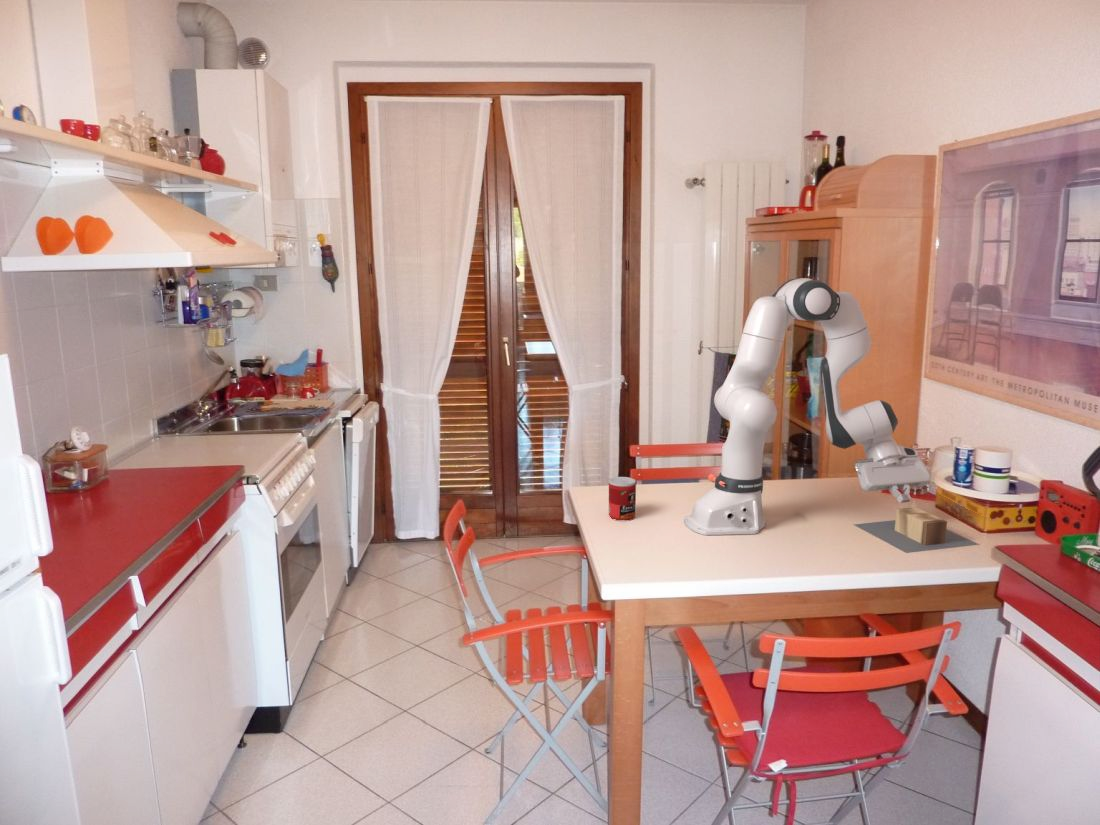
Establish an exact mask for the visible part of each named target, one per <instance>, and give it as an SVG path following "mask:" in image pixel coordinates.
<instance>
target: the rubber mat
mask: <svg viewBox="0 0 1100 825" xmlns="http://www.w3.org/2000/svg"><path fill="white" fill-rule="evenodd" d="M852 525H853V526H855V527H857V528H859V529H861V530H862V531H865V532H867V533H868V534H870V535H872V536H873V537H875V538H878V539H879V540H881V541H883V542H885V543H887V544H889V545H890V546H892V547H894V548H896V549H898V550H900V551H902V552H904V553H906V554H909V553H910V554H911V553H918V552H926V551H935V550H944V549H945V550H946V549H952V548H954V549H955V548H963V547H969V546H977V545H979V546H980V543H977V542H975V541H973V540H971V539H968V538H967V537H964V536H962V535H960V534H958V533H955V532H953V531H952V530H949V529H947V528H946V538H945V543H944V544H935V545H926V546H925V545H923V544H921V543H919V542H917V541H915V540H913V539H911V538H909V537H907V536H905V535H903V534H901V533H899V532H897V531H895V519H893V520H886V521H884V520H883V521H874V522H865V523H856V524H852Z"/></svg>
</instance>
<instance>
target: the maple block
mask: <svg viewBox="0 0 1100 825" xmlns="http://www.w3.org/2000/svg"><path fill="white" fill-rule="evenodd" d="M894 520H895V531H897V532H899V533H901V534H903V535H905V536H907V537H909V538H911V539H913V540H915V541H917V542H919V543H921V544H923V545H925V546H926V545H935V544H944V543H945V538H946V529H947V528H948V527H947V525H948V521H947V520H945V519H942V518H941V517H939V516H936V515H934V514H931V513H929V512H928V511H925V510H922V509H920V508H919V507H916V506H913V507H906V508H905V507H902V508H896V509H895V519H894Z"/></svg>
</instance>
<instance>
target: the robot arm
mask: <svg viewBox="0 0 1100 825" xmlns="http://www.w3.org/2000/svg"><path fill="white" fill-rule="evenodd" d="M794 320H798V321H809V322H819V324H820V325H821V327H822V329H823V332H824V333H823V334H824V337H825V340H826V345H827V346H826V353H825V356H824V357H823V358H822V359H821V360H820V380H821V388H822V397H823V398H822V399H823V404H824V415H825V434H826V436H827V439H828V440H829V442H830V444H831V445H832V446H835V447H837V448H839V449H844V450H846V449H848V448H851V447H853V446H856V444H861V445H862V446H863V450H864V452H863V453H864V455H865V457H866V459H865V458H864V459H857V460H856V461H855V462H854V468H855V469H854V470H855V471H856V472H857V477H858V481H859V484H860V486H861V487H860V488H861V489H862V490H863V491H865V492H866V493H868V492H876V491H887V490H888V491H889V493H890V494H891V495H892V496H893V497H894V498H896V500H897V502H898V503H900V504H901V503H910V501H911V500H912V497H911V495H910V492H911V491H910V490H911V489H912V488H920V487H925V486H927V484H929V483H930V482H931V479H932V477H931V474H930V472H929V470H928V468H927V466H926V464H925V463H924V462H923V460H922V459H921V458H919V457H918V456H919V452H918V450H917V449H915V448H911V447H906V446H902V445H899V444H898V443H897V441H896V440H895V439H894V438H893V436H892V434H894V432H895V430H896V428H897V426H898V424H899V421H898V418H897V416H896V414H895V411H894V409H893V408H892V405H891V404H890V403H888V402H887V401H884V400H882V399H881V400H880V399H878V400H874V401H870V402H867V403H864V404H861V405H859V406H856V407H853V408H850V409H847V410H842V407H841V406H842V405H841V396H840V388H839V387H840V382H841V380H842V378H843V377H845V375H846V374H847V373H848V372H849V371H850V370H852V369H853V368H854V367H856V366H857V365H858V364H860V363H861V362H862V361H863V360H864V359H865V357H866V356H867V355H868V353H869V351H870V349H871V346H872V340H871V334H870V333H871V332H870V330H869V327H868V324H867V320H866V317H865V315H864V313H863V310H862V308H861V306H860V304H859V303H858V301H857V298H856V297H855V295H854V294H852V293H851V292H848V291H835V290H834V289H833V288H831V286H829V285H828V284H827V283H826V282H824V281H821V280H819V279H811V278H807V277H805V278H804V277H803V278H792V279H789V280H787V281H785V282H784V283H782V284H781V285H780V286H779V287H778V288H777V290H776V291H775V292H774V293H773V294H772V295H768V296H766V295H765V296H761V297H759V298H757V299H756V300H755V301H754V303H753V304H752V306H751V308H750V310H749V313H748V315H747V318H746V320H745V323H744V326H743V330H742V334H741V337H740V339H739V340H740V341H739V345H738V348H737V352H736V355H735V358H734V362H733V364H732V366H731V367H730V368H731V369H730V370H729V372H728V374H727V375H726V376H727V377H726V378H725V380H724V382H723V384H722V385H721V386H720V387H719V388H718V389H717V390H716V392H715V395H714V398H713V402H714V406H715V409H716V410H717V412H718V413H719V415H720V416H721V417H722V418H723V419H725V420H726V421H729V430H728V434H727V436H726V441H725V442H724V443H723V444H722V447H721V467H720V473H719V474H718V476H717V475H715V474H714V473H710V474H709V475H708V477H707V479H708V480H709V481H710V482H711V483H714V486H713V487H712V488H711V489H710V490H708V491H707V492H705V493H704V494H702V496H700V497H699V498H697V500H695V502H694V504H693V508H692V513H691V515H686V516H684V519H683V523H684V525H685V526H686V527H687V528H688V529H690V530H691V531H693V532H695V533H698V534H701V535H703V536H716V535H717V536H718V535H719V536H722V535H726V536H727V535H728V536H729V535H749V534H750V535H756V534H758V533H759V532H760V530H761V529H763V528H764V527H766V521H765V517H764V513H763V512H764V511H763V503H762V502H763V501H762V495H763V494H762V493H763V490H764V476H763V474H762V473H763V460H764V459H763V456H764V449H765V448H764V447H765V443H766V440H767V436H768V432H769V429H770V428H771V427H773V425H774V424H775V422H776V421H777V416H778V410H777V406H776V404H775V402H774V400H772V398H770V397H769V395H768V394H767V393H765V392H763V391H762V390H763V388H764V386H765V384H766V382H768V381H767V380H768V379H769V378H770V376H771V375H773V373H774V372H776V369H777V366H778V363H779V359H780V356H781V353H782V352H781V351H782V349H783V348H782V347H783V345H784V340H785V337H786V332H787V330H788V328H789V327H790V325H791V323H792V322H793V321H794ZM898 489H900V491H901V492H903V493H901V492H900V491H899V490H898Z"/></svg>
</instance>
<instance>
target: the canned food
mask: <svg viewBox="0 0 1100 825" xmlns="http://www.w3.org/2000/svg"><path fill="white" fill-rule="evenodd" d="M636 482H637V481H636V479H634V478H631V477H629V476H628V477H627V476H615V477H614V476H613V477H611V478H610V479H609V480H608V516H610V517H611V518H612V520H613V519H616V520H615V521H617V520H629V521H631V520H630V519H632V520H634V519H635V516H636V506H637V505H636V499H637V498H636V496H637V494H636V493H637V483H636ZM610 517H609V518H610ZM611 518H610V519H611ZM633 518H634V519H633Z"/></svg>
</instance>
